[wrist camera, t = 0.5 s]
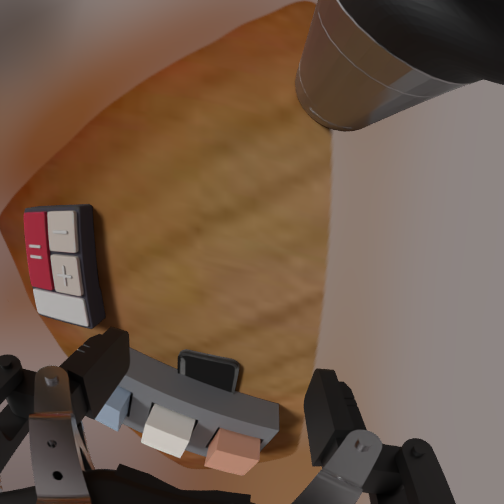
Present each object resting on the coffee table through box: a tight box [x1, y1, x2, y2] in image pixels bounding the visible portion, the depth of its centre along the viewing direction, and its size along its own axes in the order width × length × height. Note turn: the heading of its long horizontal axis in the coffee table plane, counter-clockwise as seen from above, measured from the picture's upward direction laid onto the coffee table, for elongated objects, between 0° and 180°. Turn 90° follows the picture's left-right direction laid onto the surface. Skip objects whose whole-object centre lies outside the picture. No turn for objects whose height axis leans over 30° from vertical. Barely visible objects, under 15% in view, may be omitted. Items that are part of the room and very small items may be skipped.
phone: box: [178, 349, 239, 394], centre depth 34 cm, size 8×1×15 cm
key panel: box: [118, 347, 279, 457], centre depth 32 cm, size 12×26×5 cm, turn 68°
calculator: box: [24, 204, 106, 329], centre depth 28 cm, size 11×4×15 cm
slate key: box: [95, 386, 131, 431], centre depth 28 cm, size 6×6×4 cm
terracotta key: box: [204, 428, 260, 475], centre depth 29 cm, size 6×6×4 cm
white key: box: [141, 403, 196, 458], centre depth 28 cm, size 6×6×4 cm
